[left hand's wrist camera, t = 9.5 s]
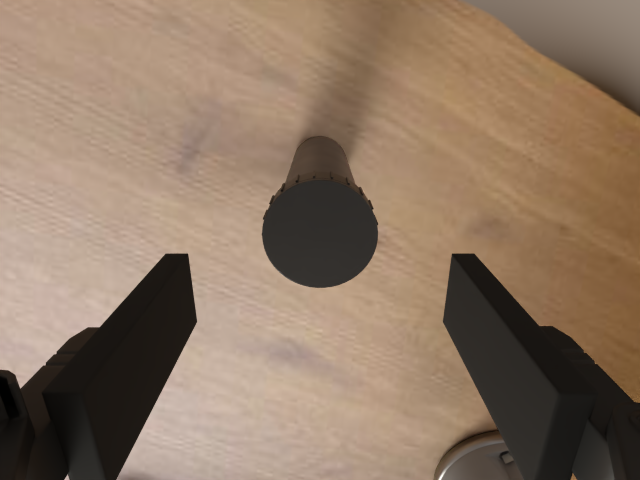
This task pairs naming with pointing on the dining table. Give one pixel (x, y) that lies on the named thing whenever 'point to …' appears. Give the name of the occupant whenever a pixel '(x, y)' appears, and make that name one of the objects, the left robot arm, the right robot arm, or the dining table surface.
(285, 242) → the lid
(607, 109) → the dining table surface
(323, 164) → the grey capped tube
